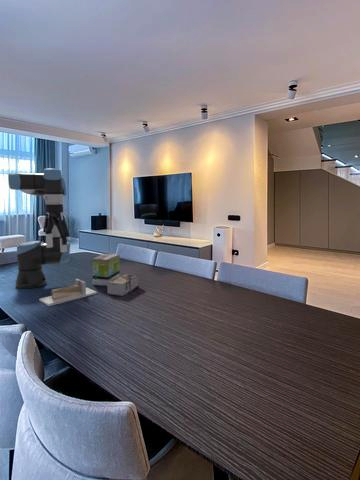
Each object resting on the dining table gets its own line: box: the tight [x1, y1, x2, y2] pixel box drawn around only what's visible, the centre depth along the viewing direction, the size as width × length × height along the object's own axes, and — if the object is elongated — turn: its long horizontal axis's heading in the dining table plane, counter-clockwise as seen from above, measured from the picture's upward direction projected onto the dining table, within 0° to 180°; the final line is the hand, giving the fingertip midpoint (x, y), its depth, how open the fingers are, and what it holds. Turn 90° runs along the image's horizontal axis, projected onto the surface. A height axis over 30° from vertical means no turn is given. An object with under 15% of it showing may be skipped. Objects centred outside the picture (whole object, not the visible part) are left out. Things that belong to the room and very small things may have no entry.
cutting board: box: [38, 286, 98, 307], centre depth 145 cm, size 10×24×1 cm, turn 136°
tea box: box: [91, 253, 121, 286], centre depth 170 cm, size 15×10×15 cm, turn 168°
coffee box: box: [106, 274, 140, 297], centre depth 155 cm, size 9×6×16 cm
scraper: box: [51, 278, 87, 300], centre depth 144 cm, size 8×14×6 cm, turn 136°
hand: (56, 249), depth 141 cm, fingers open, 13 cm apart
